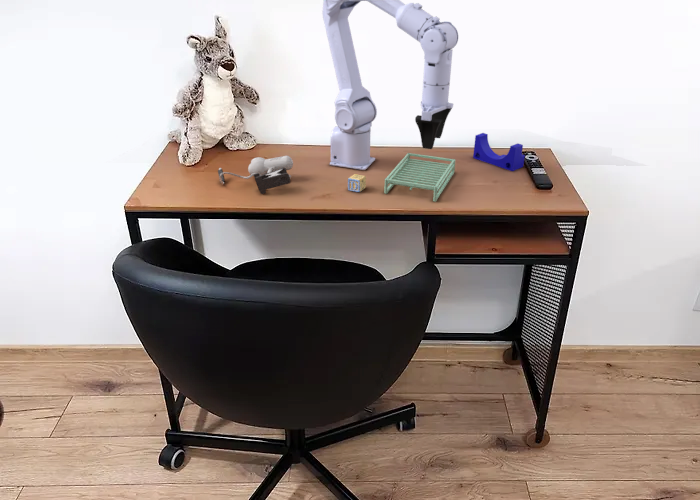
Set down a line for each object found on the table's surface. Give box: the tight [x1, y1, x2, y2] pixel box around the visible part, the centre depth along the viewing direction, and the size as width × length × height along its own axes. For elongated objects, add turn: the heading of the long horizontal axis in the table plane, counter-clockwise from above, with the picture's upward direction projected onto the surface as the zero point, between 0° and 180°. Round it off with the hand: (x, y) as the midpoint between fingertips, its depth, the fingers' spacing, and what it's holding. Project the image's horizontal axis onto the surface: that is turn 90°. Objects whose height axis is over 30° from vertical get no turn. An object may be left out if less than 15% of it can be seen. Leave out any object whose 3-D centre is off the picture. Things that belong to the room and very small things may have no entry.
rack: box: [383, 152, 456, 203], centre depth 147 cm, size 18×12×4 cm, turn 159°
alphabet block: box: [347, 173, 367, 193], centre depth 143 cm, size 3×3×3 cm
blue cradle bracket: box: [472, 132, 526, 172], centre depth 158 cm, size 12×4×6 cm, turn 42°
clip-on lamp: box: [217, 155, 294, 195], centre depth 145 cm, size 12×6×18 cm
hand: (431, 142), depth 143 cm, fingers open, 7 cm apart
